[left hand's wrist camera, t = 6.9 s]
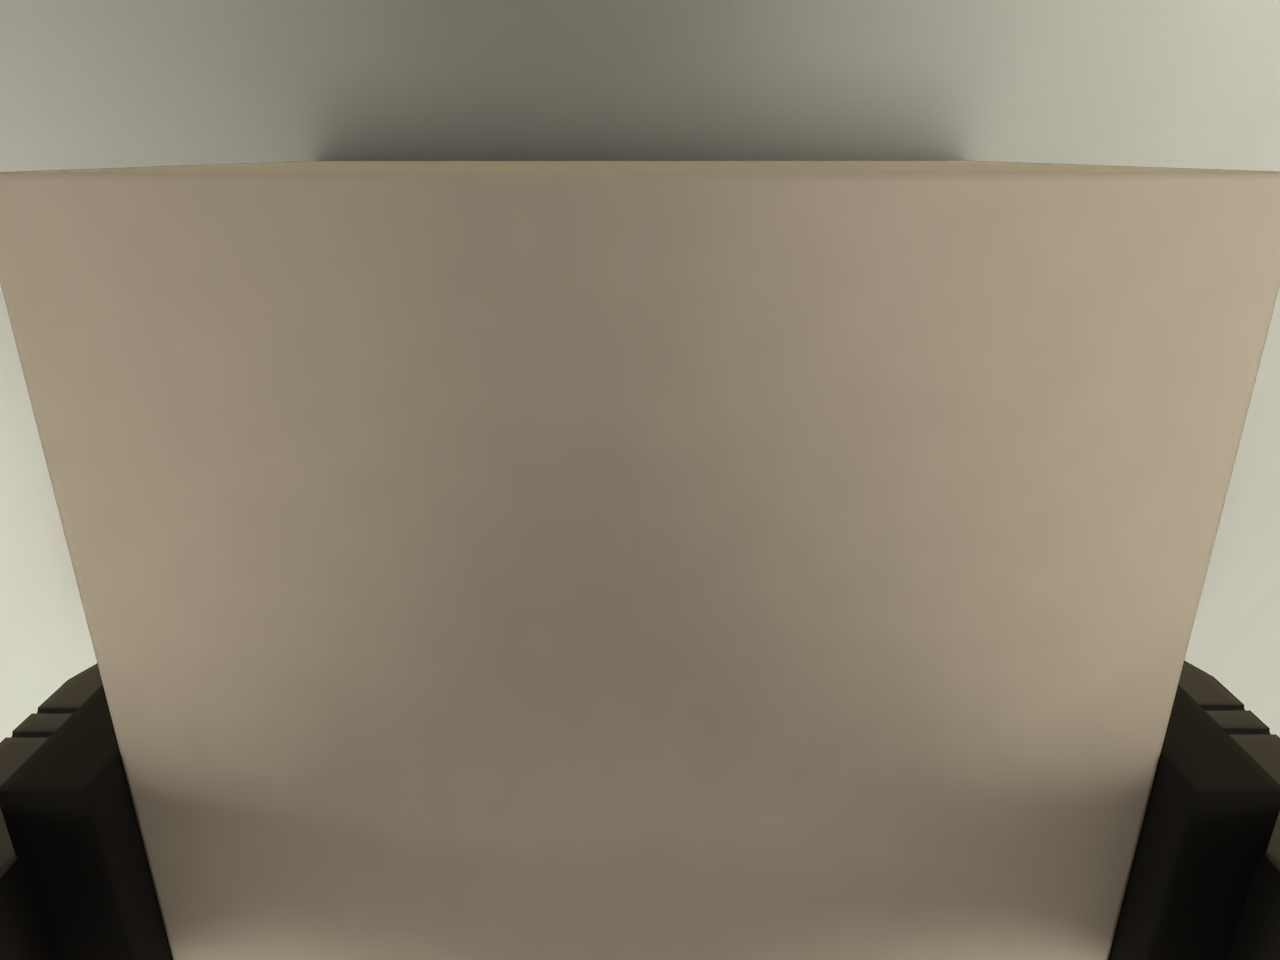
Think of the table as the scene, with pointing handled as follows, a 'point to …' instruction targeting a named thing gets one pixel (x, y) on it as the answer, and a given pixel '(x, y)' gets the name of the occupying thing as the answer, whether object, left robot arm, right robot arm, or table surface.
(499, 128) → the table surface
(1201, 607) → the table surface
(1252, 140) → the table surface
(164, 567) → the thick board
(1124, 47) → the table surface
